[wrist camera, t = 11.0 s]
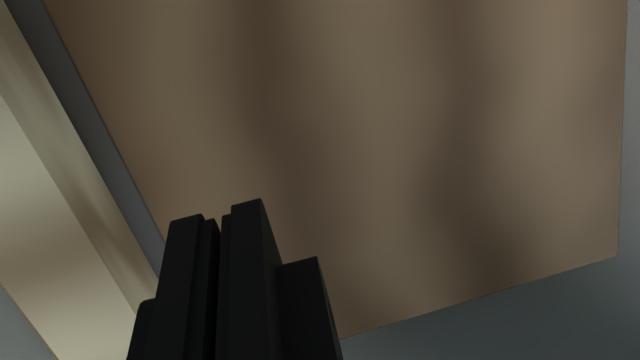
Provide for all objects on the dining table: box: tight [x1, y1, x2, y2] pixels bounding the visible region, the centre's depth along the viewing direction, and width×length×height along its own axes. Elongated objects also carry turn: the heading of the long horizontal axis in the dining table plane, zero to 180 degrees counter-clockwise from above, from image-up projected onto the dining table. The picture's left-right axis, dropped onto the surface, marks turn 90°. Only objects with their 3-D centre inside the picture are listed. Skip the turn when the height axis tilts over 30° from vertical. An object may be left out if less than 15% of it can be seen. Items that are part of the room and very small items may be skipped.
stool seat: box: [0, 0, 627, 360], centre depth 21 cm, size 24×18×2 cm
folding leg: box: [0, 0, 159, 360], centre depth 18 cm, size 17×3×3 cm, turn 15°
